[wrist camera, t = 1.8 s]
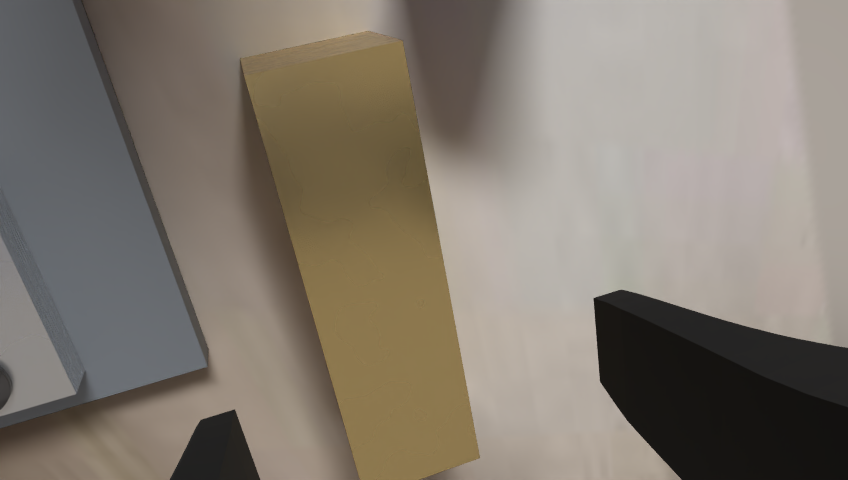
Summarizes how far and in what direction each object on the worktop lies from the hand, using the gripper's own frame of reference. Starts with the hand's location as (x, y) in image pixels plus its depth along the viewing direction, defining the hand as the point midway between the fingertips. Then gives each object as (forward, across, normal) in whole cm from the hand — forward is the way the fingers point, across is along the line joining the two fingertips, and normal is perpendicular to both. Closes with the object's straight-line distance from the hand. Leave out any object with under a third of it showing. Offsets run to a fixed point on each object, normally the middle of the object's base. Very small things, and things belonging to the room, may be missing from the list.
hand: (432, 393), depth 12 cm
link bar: (+8, 0, 0) cm, 8 cm away
